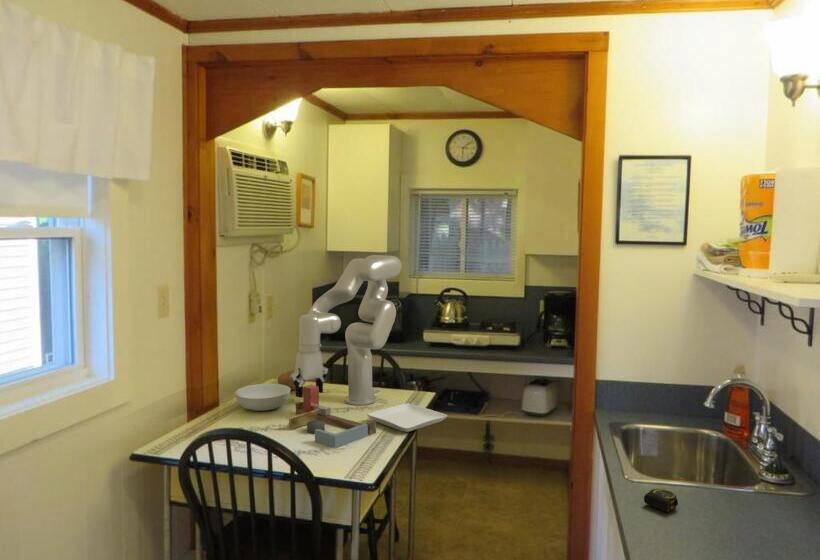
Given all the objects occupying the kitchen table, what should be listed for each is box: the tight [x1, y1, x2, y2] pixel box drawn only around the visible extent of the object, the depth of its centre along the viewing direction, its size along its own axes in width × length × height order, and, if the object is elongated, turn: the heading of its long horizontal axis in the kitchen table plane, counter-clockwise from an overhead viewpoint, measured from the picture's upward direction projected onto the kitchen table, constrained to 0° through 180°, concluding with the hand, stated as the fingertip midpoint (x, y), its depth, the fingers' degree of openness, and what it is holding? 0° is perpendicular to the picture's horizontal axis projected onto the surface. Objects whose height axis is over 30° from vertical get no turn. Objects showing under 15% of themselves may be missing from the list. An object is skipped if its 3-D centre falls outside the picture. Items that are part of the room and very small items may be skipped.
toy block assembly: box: [288, 384, 331, 430], centre depth 227 cm, size 17×11×11 cm, turn 140°
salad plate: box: [366, 402, 448, 433], centre depth 228 cm, size 21×21×3 cm
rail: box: [295, 401, 377, 436], centre depth 227 cm, size 3×38×4 cm, turn 50°
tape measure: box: [643, 488, 679, 513], centre depth 160 cm, size 7×7×4 cm
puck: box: [306, 420, 326, 435], centre depth 218 cm, size 6×6×3 cm
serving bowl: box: [234, 383, 292, 412], centre depth 246 cm, size 21×21×7 cm
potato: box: [277, 369, 306, 391], centre depth 272 cm, size 10×14×8 cm
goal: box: [314, 423, 369, 449], centre depth 210 cm, size 15×10×4 cm, turn 140°
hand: (309, 394), depth 233 cm, fingers open, 9 cm apart
